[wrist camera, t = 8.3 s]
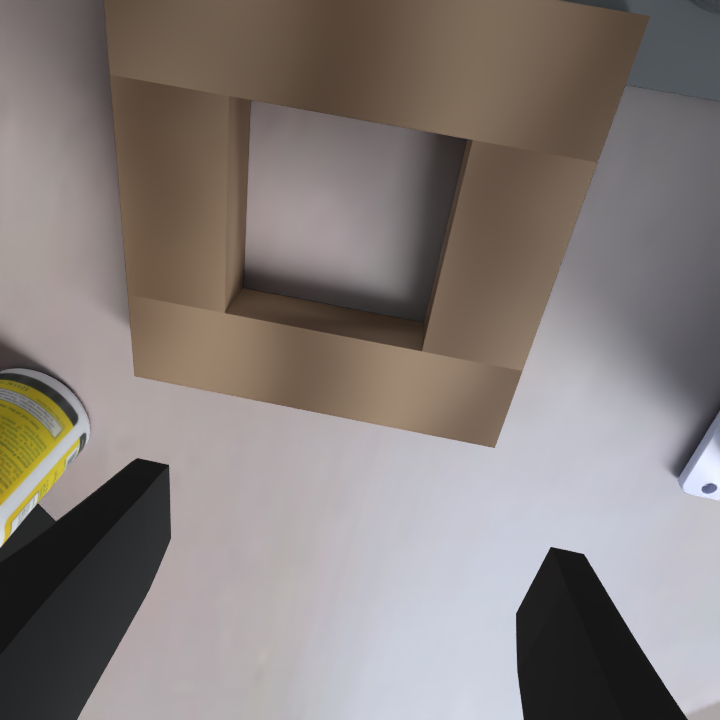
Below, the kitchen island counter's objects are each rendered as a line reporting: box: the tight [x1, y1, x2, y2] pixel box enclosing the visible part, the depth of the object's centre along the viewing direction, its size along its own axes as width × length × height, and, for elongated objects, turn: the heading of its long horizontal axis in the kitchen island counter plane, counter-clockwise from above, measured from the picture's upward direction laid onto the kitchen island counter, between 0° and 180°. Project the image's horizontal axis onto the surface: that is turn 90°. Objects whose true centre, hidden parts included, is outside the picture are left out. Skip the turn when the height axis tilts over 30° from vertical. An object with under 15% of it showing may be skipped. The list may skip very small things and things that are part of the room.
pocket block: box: [104, 0, 650, 448], centre depth 17 cm, size 13×13×2 cm
